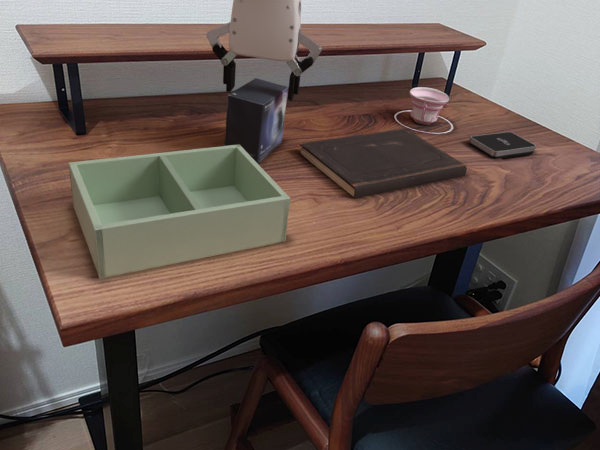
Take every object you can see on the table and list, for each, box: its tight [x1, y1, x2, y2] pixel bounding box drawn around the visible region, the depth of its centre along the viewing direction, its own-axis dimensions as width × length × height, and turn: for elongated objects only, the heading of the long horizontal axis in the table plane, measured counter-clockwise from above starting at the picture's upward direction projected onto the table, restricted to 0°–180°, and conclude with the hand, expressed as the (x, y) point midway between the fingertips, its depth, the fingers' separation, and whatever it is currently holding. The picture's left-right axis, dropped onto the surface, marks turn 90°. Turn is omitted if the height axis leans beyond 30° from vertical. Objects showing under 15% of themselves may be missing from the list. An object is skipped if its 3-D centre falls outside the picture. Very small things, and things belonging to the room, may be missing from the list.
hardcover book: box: [299, 128, 468, 200], centre depth 92 cm, size 16×23×2 cm
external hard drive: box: [468, 131, 537, 160], centre depth 104 cm, size 7×11×2 cm, turn 118°
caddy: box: [68, 145, 291, 280], centre depth 68 cm, size 22×16×7 cm
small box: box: [223, 77, 289, 165], centre depth 89 cm, size 11×6×10 cm, turn 160°
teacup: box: [393, 86, 454, 135], centre depth 110 cm, size 12×12×6 cm
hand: (260, 93), depth 86 cm, fingers open, 9 cm apart
